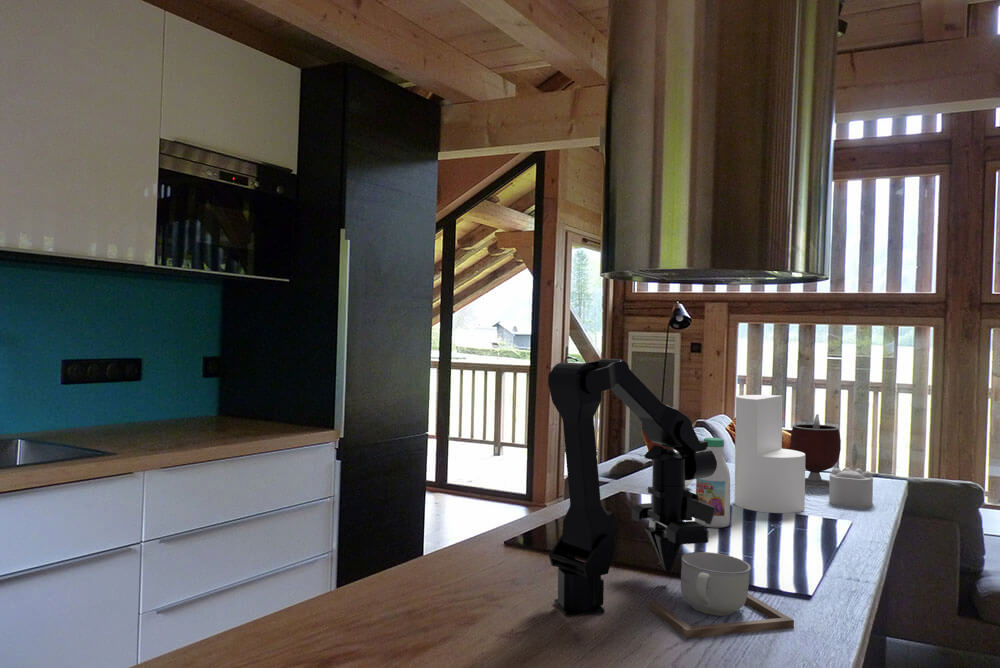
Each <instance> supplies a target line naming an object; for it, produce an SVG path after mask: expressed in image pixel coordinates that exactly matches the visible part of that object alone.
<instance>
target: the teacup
mask: <svg viewBox="0 0 1000 668" xmlns="http://www.w3.org/2000/svg"><path fill="white" fill-rule="evenodd" d="M680 559H681V570H680V589H681V591H680V592H681V594H682V596H683V599H685V600H686V602H687V603H689V605H690V606H691V607H692V608H693V609H694V610H695V611H698V612H701V613H703V614H706V615H712V616H719V617H722V616H723V617H725V616H729V615H732V614H734V613H735V612H736V611H739V610H740V609H742V608H743V606H745V604H746V603H745V602H746V599H747V594H748V593H749V584H750V572H751V569H752V568H751V565H750V564H749V563H748V562H747V561H745V560H744V559H743V560H742V559H740V558H738V557H734V556H731V555H728V554H722V553H718V552H708V551H694V552H688V553H684V554H683V555H681V558H680Z"/></svg>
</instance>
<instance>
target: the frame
mask: <svg viewBox="0 0 1000 668" xmlns="http://www.w3.org/2000/svg"><path fill="white" fill-rule="evenodd" d="M647 604H648V605H647V606H648V607H647V608H648V609H649V610H650V611H651V612H652V613H653V614H655V615H656V616H658V617H659V618H660V619H661V620H662V621H664V622H665V623H666V624H667V625H669V626H670V627H671V628H673V629H674V630H675V631H676V632H678V633H679V634H681V636H683V637H684V638H685V639H694V638H705V637H714V636H717V637H718V636H725V635H737V634H745V633H756V632H758V633H759V632H766V631H775V630H785V629H795V620H794V619H793V618H791V617H790V616H788V615H786V614H784V613H782V612H781V611H780V610H777V609H776V608H774V607H772V606H771V605H769V604H768V603H765V602H764V601H763V600H760V599H759V598H757V597H755V596H754V595H752V594H750V593H749V592H748V594H747V599H746V602H745V604H746V605H748V606H749V607H751V608H752V609H754V610H756V611H757V612H759V613H760V614H762V615H763V616H766V617H768V618H767V619H757V620H745V621H735V622H734V621H733V622H723V623H713V624H704V625H703V624H702V625H691V626H690V625H689V624H687V623H686V622H684V620H682V619H680V618H679V617H678V616H676V614H674V613H672V611H670V610H669V609H668V608H666V607H665V606H663V605H662V604H661V603H660V602H658V601H657V600H655V599H654V600H653V599H652V600H648V601H647Z"/></svg>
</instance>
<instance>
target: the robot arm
mask: <svg viewBox="0 0 1000 668" xmlns="http://www.w3.org/2000/svg"><path fill="white" fill-rule="evenodd" d="M548 373H549V374H548V376H547V377H548V378H547V380H548V381H547V384H548V390H549V394H550V397H551V401H552V404H553V405H554V407H555V409H556V411H557V412H558V413H559V414H558V415H560V417H561V419H562V425H563V436H564V446H565V447H564V448H565V449H564V450H565V459H566V471H567V483H568V484H567V485H568V492H569V493H568V494H569V508H568V509H567V512H566V514H565V516H564V517H563V520H562V534H561V536H560V538H559V539H558V541H557V542H556V543H555V545H554V546H553V548H552V549H551V551H550V552H549V553H548V554H549V555H548V558H549V561H550V566H552V567H554V568H555V567H557V599H556V598H555V599H554V600H553V602H554V603H553V604H555V605H556V607H558V609H560V610H561V611H562V613H563V614H564V615H565V616H567V617H569V616H571V617H573V616H583V615H596V614H603V613H605V611H606V609H605V608H604V600H605V599H604V596H605V595H604V594H605V593H604V591H605V590H604V589H605V587H604V583H605V582H604V581H605V580H604V579H603V578H602V576H604V575H608V574H609V571H610V567H611V564H612V559H613V555H614V551H615V549H616V539H618V538H619V536H618V533H617V529H616V526H617V525H616V521H617V520H616V519H617V518H616V515H615V513H614V512H611V511H607V510H605V508H604V507H603V505H602V502H601V490H600V481H599V480H600V478H599V467H598V464H599V463H598V453H597V441H596V432H595V415H596V413H597V411H598V409H599V407H600V405H601V402H602V398H603V397H602V396H603V393H602V392H604V391H608V390H610V391H611V392H612V393H613V394H614V395H615V396H616V397H617V398H618V399H619V400H620V401H621V402H622V403H623V404H625V406H626V407H627V408H629V410H630V411H631V412H633V413H634V415H635V416H636V417H637V418H638V419H639V421H640V423H641V424H640V425H641V430H642V431H643V433H644V434H645V435H646V437H647V438H648V440H649V441H650V442H651V443H653V444H657V445H652V447H651V448H650V449H649V450H648V451H647V452H646V453H645V454H644V456H643V457H644V458H645V460H646V459H647V460H650V461H651V460H652V479H651V481H652V483H651V484H652V485H651V486H648V487H647V493H648V494H650V495H651V503H636V504H635V505H634V506H633V507H632V508H631V520H633V521H635V522H637V523H641V522H642V520H643V519H646V520H647V521H648V522H649V523H648V527H645V528H644V530H645V532H646V533H647V535H648V538H649V539H650V542H651V543H652V546H653V548H654V550H655V553H656V555H657V557H658V560H659V562H660V564H661V566H662V569H663V571H665V572H671V571H672V570H673V567H674V563H675V561H676V558H677V555H678V552H679V549H680V548H681V545H692V544H693V545H694V544H706V543H707V544H708V543H709V540H710V538H709V537H710V536H709V535H710V533H709V532H710V531H709V529H708V528H707V527H706V526H703V525H701V524H699V523H697V522H696V519H699V520H702V521H705V523H707V524H711V522H712V519H713V516H714V513H715V510H716V508H715V507H713V506H710V505H708V504H706V503H703V502H701V501H699V496H698V495H696V493H694V492H692V491H691V492H690V490H688V489H685V480H693V481H694V480H696V479H699V478H704V477H709V476H711V475H712V474H714V472H715V470H716V468H717V460H716V458H715V456H714V454H713V452H712V451H711V450H710V449H709V448H708V442H707V441H704V440H700V439H699V437H698V435H697V433H696V431H695V429H694V428H693V423H692V420H691V419H690V417H688V415H686V414H685V413H684V412H682V411H681V410H679V409H677V408H675V407H672V406H669V405H667V404H665V403H664V402H663V401H662V400H661V399H659V397H657V395H655V394H654V392H653V391H652V390H651V389H650V388H649V387H648V386H647V385H646V384H645V383H644V382H643V381H642V380H641V379H640V378H639V377H638V375H636V374H635V373H634V372H633V371H632V370H631V369H630V366H629V364H628V363H627V361H625V360H623V359H620V358H605V357H604V358H601V359H598V360H594V361H590V362H589V361H588V362H566V361H564V362H563V361H561V362H558V363H556V364H555V365H554V366H553V368H552V369H551V371H550V372H548ZM693 519H695V520H693ZM576 557H579V558H582V559H585V561H584V560H581V559H578V558H576Z"/></svg>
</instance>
